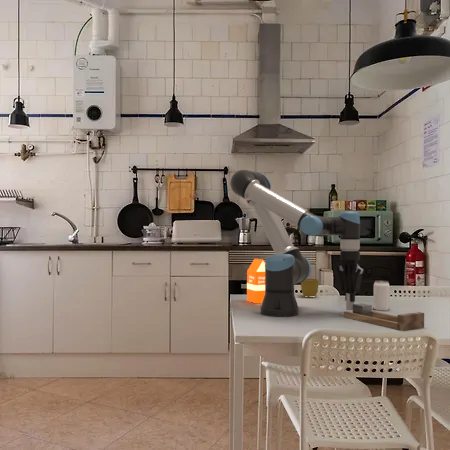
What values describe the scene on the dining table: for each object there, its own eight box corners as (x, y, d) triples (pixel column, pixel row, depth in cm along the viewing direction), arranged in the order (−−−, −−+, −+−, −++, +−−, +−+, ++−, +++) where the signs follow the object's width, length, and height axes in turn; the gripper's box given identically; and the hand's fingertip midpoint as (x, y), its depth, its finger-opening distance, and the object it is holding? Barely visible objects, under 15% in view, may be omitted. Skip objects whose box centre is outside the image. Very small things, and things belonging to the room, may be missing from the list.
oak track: (402, 330, 150) (402, 315, 150) (343, 317, 174) (343, 304, 174) (424, 327, 156) (424, 313, 156) (364, 314, 179) (364, 301, 179)
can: (373, 310, 189) (373, 281, 190) (373, 307, 196) (373, 280, 196) (389, 311, 187) (389, 282, 187) (389, 308, 193) (389, 280, 193)
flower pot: (300, 295, 231) (300, 278, 231) (317, 296, 230) (317, 278, 230) (300, 298, 222) (300, 279, 222) (318, 298, 221) (318, 280, 221)
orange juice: (255, 304, 203) (255, 259, 203) (246, 301, 211) (246, 258, 211) (270, 303, 206) (270, 259, 206) (261, 300, 214) (261, 258, 214)
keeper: (362, 319, 170) (362, 306, 170) (352, 317, 174) (352, 304, 174) (371, 318, 172) (371, 305, 172) (361, 316, 177) (361, 303, 177)
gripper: (369, 250, 175) (369, 311, 175) (345, 249, 187) (345, 306, 186) (355, 251, 172) (355, 313, 171) (331, 249, 183) (331, 308, 183)
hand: (350, 309), depth 179 cm, fingers closed
